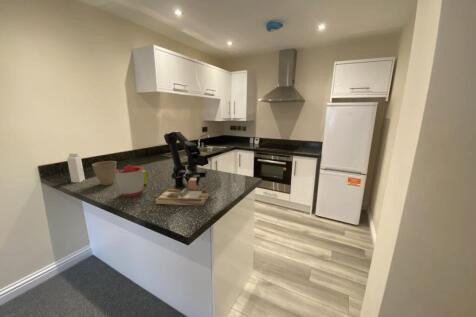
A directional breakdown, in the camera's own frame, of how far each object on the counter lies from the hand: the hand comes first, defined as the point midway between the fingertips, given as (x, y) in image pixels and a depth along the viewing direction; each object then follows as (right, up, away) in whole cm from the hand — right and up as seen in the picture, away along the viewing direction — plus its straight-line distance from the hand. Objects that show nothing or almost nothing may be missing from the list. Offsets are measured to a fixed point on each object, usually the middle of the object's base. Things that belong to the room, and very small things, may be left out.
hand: (193, 185), depth 130 cm
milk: (-95, 0, +22) cm, 98 cm away
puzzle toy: (-46, -1, +16) cm, 49 cm away
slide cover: (+1, -4, -12) cm, 13 cm away
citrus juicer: (-41, -5, -2) cm, 41 cm away
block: (0, -1, 0) cm, 1 cm away
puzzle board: (-3, -7, -11) cm, 14 cm away
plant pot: (-69, -1, +16) cm, 71 cm away
